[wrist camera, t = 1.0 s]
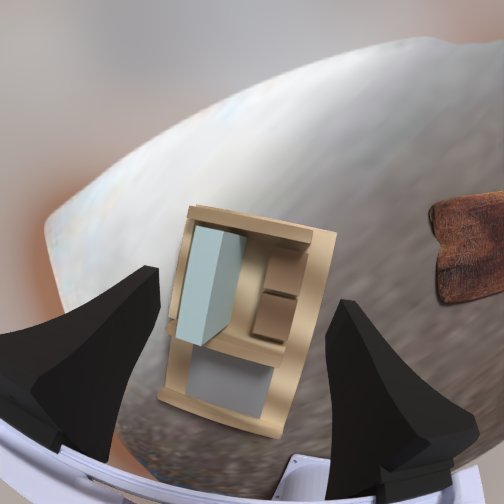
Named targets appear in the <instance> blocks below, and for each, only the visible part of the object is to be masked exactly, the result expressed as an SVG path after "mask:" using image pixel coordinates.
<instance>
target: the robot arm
mask: <svg viewBox="0 0 504 504" xmlns="http://www.w3.org/2000/svg"><path fill="white" fill-rule="evenodd" d="M160 308H161V303H160V286H159V268H156V267H151V266H146V265H144V266H143V267H141V268H140V269H138V270H137V271H135V272H134V273H132V274H131V275H129V276H128V277H126V278H125V279H123V280H122V281H120V282H119V283H117V284H116V285H114V286H113V287H111V288H110V289H109V290H107V291H105V292H104V293H102V294H100V295H99V296H97V297H95V298H94V299H92V300H91V301H89V302H87V303H85V304H84V305H82V306H80V307H78V308H76V309H74V310H72V311H70V312H68V313H66V314H64V315H62V316H59V317H57V318H54V319H52V320H49V321H47V322H44V323H42V324H39V325H36V326H33V327H29V328H26V329H23V330H19V331H15V332H10V333H5V334H0V478H1V479H2V480H4V481H5V482H6V483H7V484H8V485H10V486H11V487H12V488H13V489H15V490H16V491H17V492H18V493H20V494H21V495H22V496H24V497H25V498H26V499H28V500H29V501H30V502H32V503H34V504H136V503H134V502H132V501H129V500H128V499H126V498H124V496H123V495H122V494H119V493H117V492H114V491H112V490H110V489H108V488H105V487H103V486H101V485H99V484H97V483H95V482H94V481H93V480H96V481H98V482H100V483H103V484H105V485H108V486H110V487H113V488H115V489H118V490H121V491H124V492H126V493H129V494H132V495H135V496H138V497H141V498H145V499H148V500H151V501H155V502H158V503H162V504H485V499H484V494H483V488H482V483H481V479H480V474H479V470H478V466H477V465H474V466H471V467H468V468H466V469H463V470H460V471H458V472H455V473H453V474H451V472H450V468H452V467H454V461H453V458H454V457H456V456H457V455H459V454H460V453H461V452H463V451H464V450H466V449H467V448H468V447H470V446H471V445H472V444H473V443H474V442H475V441H476V440H477V439H478V437H479V435H480V433H479V430H478V426H477V423H476V420H475V417H474V415H473V414H471V413H469V412H467V411H466V410H464V409H462V408H461V407H459V406H457V405H455V404H454V403H452V402H451V401H449V400H448V399H447V398H445V397H444V396H442V395H441V394H440V393H438V392H437V391H436V390H434V389H433V388H432V387H431V386H430V385H428V384H427V383H426V382H425V381H424V380H422V379H421V378H420V377H419V376H418V375H417V374H416V373H415V372H414V371H413V370H412V369H411V368H410V367H409V366H408V365H407V364H406V363H405V362H404V361H403V360H402V359H401V358H400V357H399V356H398V355H397V353H396V352H395V351H394V350H393V349H392V348H391V346H390V345H389V344H388V343H387V342H386V340H385V339H384V338H383V337H382V335H381V334H380V333H379V331H378V330H377V329H376V328H375V326H374V325H373V324H372V322H371V321H370V320H369V318H368V317H367V316H366V314H365V313H364V312H363V310H362V309H361V308H360V307H359V305H358V304H357V303H356V302H355V301H351V300H344V299H341V300H340V302H339V305H338V307H337V310H336V312H335V314H334V317H333V319H332V321H331V324H330V326H329V328H328V330H327V333H326V335H325V351H326V364H327V371H328V378H329V386H330V393H331V401H332V447H331V459H330V460H329V459H323V458H317V457H311V456H305V455H300V454H293V455H292V457H291V459H290V461H289V463H288V466H287V468H286V470H285V472H284V474H283V477H282V479H281V481H280V483H279V485H278V487H277V489H276V491H275V493H274V495H273V497H272V500H256V499H246V498H237V497H229V496H222V495H215V494H209V493H204V492H199V491H194V490H189V489H184V488H180V487H176V486H172V485H168V484H164V483H160V482H157V481H153V480H150V479H146V478H143V477H140V476H137V475H134V474H131V473H128V472H125V471H122V470H119V469H117V468H114V467H112V466H109V465H106V464H104V463H106V462H108V458H109V452H110V447H111V442H112V437H113V432H114V428H115V424H116V420H117V416H118V412H119V409H120V405H121V402H122V398H123V395H124V392H125V389H126V386H127V383H128V380H129V378H130V375H131V373H132V370H133V368H134V366H135V364H136V362H137V360H138V358H139V356H140V354H141V352H142V350H143V348H144V346H145V344H146V342H147V340H148V338H149V336H150V334H151V332H152V330H153V328H154V325H155V322H156V320H157V317H158V314H159V311H160ZM293 460H296V461H293ZM92 479H93V480H92Z"/></svg>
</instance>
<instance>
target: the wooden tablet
mask: <svg viewBox="0 0 504 504" xmlns="http://www.w3.org/2000/svg"><path fill="white" fill-rule="evenodd" d="M429 212H430V219H431V223H432V227H433V231H434V234H435V237H436V239H437V241H438V242H439V243H440V245H441V248H440V250H439V253H438V257H437V269H436V270H437V286H438V292H439V296H440V298H441V299H442V300H443V301H444V302H445V303H449V304H450V303H456V302H462V301H469V300H473V299H477V298H480V297H484V296H488V295H491V294H494V293H497V292H500V291H503V290H504V191H498V192H489V193H483V194H476V195H468V196H460V197H455V198H449V199H446V200H442V201H440V202H437V203H435V204H434V205H432V207H431V209H430V211H429Z"/></svg>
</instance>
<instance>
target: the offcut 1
mask: <svg viewBox="0 0 504 504" xmlns="http://www.w3.org/2000/svg"><path fill="white" fill-rule="evenodd" d="M308 255H309V253H304V252H300V251H295V250H291V249H286V248H282V247H277V246H272V250H271V254H270V259H269V264H268V268H267V273H266V277H265V282H264V286H263V287H264V288H268V289H272V290H276V291H280V292H285V293H289V294H293V295H297V296H299V294H300V290H301V286H302V282H303V277H304V273H305V269H306V264H307V260H308Z"/></svg>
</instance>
